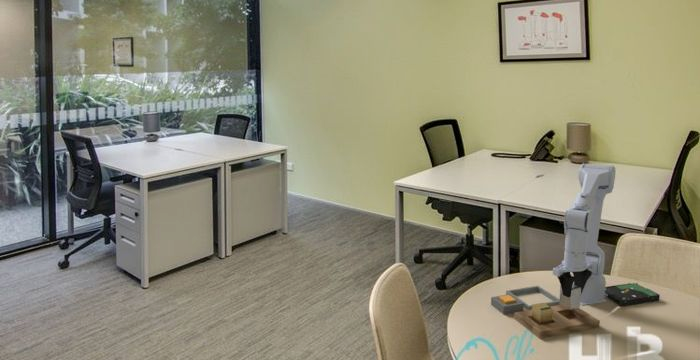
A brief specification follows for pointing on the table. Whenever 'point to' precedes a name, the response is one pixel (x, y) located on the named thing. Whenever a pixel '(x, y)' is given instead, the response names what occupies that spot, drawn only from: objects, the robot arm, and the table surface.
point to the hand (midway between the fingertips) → (572, 294)
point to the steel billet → (571, 298)
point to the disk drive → (630, 294)
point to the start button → (507, 299)
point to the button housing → (507, 305)
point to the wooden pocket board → (558, 322)
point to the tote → (530, 290)
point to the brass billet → (542, 313)
